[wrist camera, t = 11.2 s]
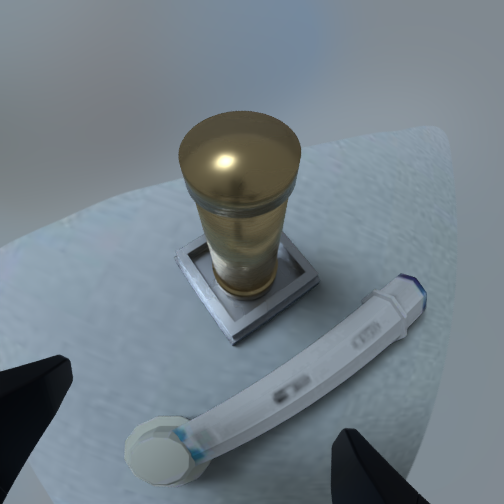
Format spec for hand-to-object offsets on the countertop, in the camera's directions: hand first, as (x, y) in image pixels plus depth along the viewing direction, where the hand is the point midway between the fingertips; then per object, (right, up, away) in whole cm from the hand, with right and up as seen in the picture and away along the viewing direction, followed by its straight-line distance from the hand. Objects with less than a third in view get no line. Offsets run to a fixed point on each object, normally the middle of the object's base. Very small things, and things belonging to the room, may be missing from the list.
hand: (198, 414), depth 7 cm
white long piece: (+4, -5, +13) cm, 14 cm away
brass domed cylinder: (+1, +3, +15) cm, 15 cm away
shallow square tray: (+1, +3, +16) cm, 16 cm away
